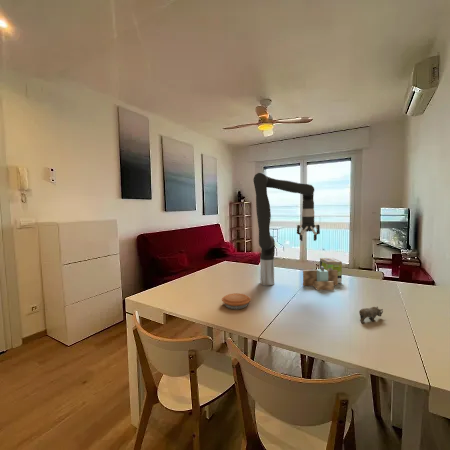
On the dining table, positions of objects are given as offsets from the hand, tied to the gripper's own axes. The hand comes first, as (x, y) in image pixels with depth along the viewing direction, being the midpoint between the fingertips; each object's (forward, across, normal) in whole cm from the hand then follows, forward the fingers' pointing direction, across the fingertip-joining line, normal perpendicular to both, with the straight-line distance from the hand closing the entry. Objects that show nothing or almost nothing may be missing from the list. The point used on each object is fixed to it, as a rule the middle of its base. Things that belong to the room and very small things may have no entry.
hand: (308, 240), depth 164 cm
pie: (+30, -48, -32) cm, 65 cm away
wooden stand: (+30, +8, -4) cm, 31 cm away
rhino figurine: (+30, +13, -52) cm, 61 cm away
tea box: (+30, +19, +12) cm, 38 cm away
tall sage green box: (+27, +8, -4) cm, 28 cm away
